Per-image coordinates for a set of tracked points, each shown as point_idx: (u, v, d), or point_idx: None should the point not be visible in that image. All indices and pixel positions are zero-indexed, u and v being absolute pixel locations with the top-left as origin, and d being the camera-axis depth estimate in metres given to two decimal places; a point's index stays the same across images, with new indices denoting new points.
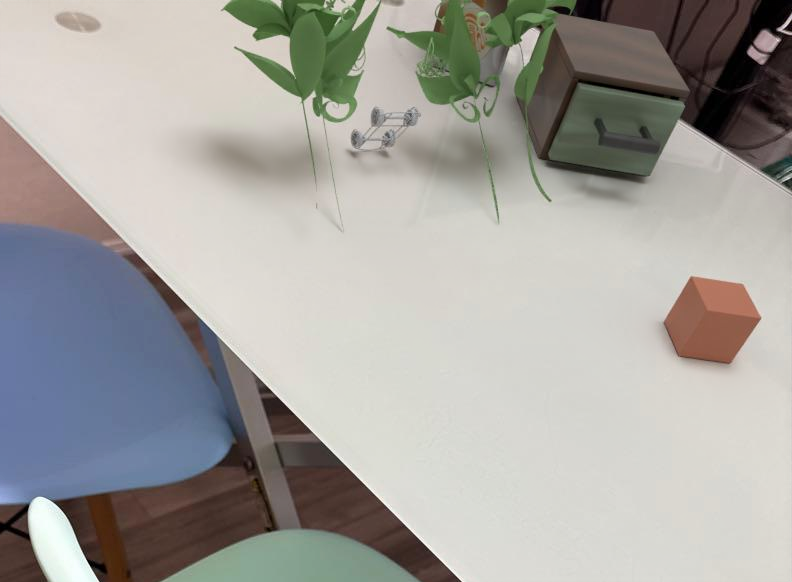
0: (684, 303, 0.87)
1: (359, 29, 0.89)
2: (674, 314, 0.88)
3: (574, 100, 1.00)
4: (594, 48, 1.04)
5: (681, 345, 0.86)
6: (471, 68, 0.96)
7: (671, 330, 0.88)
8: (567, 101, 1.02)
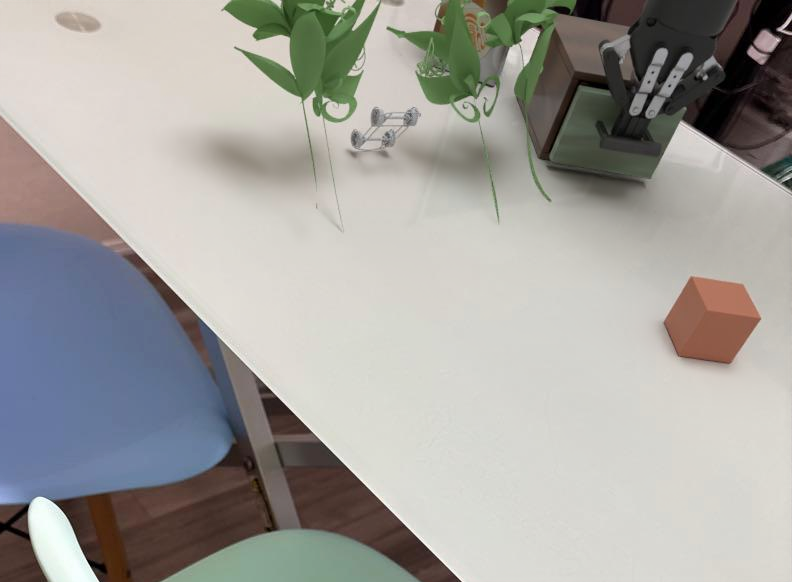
0: (684, 303, 0.87)
1: (359, 29, 0.89)
2: (674, 314, 0.88)
3: (575, 103, 1.00)
4: (594, 48, 1.04)
5: (681, 345, 0.86)
6: (471, 68, 0.96)
7: (671, 330, 0.88)
8: (567, 101, 1.02)
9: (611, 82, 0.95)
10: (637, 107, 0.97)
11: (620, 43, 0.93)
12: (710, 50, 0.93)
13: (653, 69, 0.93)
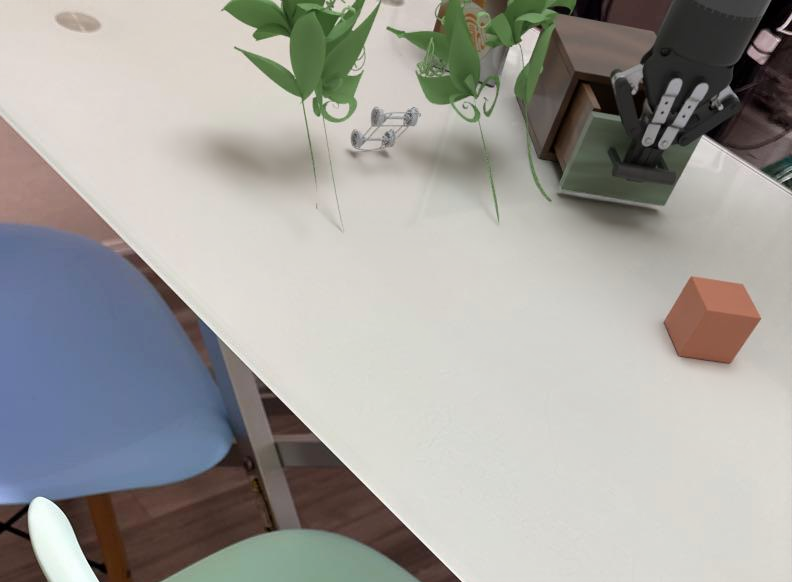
0: (684, 303, 0.87)
1: (359, 29, 0.89)
2: (674, 314, 0.88)
3: (586, 129, 0.96)
4: (594, 48, 1.04)
5: (681, 345, 0.86)
6: (471, 68, 0.96)
7: (671, 330, 0.88)
8: (567, 101, 1.02)
9: (623, 113, 0.92)
10: (650, 138, 0.93)
11: (633, 73, 0.90)
12: (726, 80, 0.89)
13: (667, 99, 0.90)
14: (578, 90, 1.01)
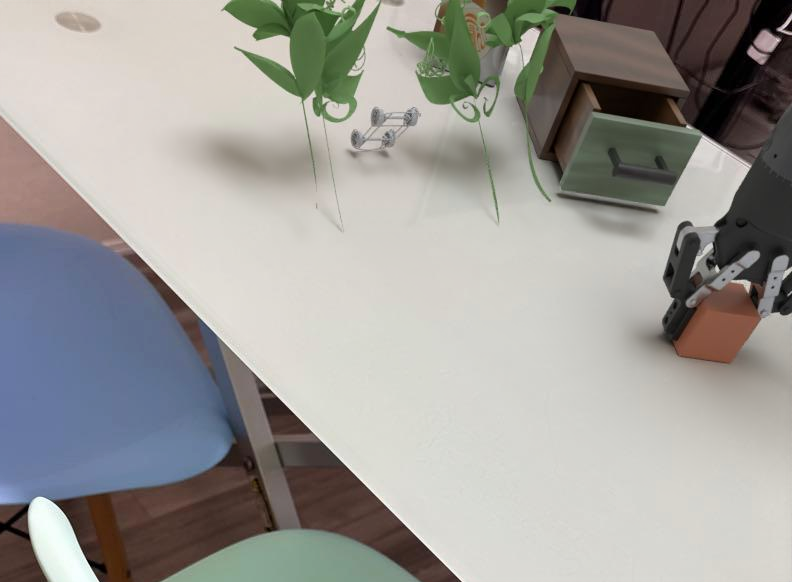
0: None
1: (359, 29, 0.89)
2: None
3: (586, 130, 0.96)
4: (594, 48, 1.04)
5: (681, 345, 0.86)
6: (471, 68, 0.96)
7: None
8: (567, 101, 1.02)
9: (678, 270, 0.81)
10: (696, 300, 0.84)
11: (707, 233, 0.80)
12: None
13: (735, 268, 0.81)
14: (578, 90, 1.01)
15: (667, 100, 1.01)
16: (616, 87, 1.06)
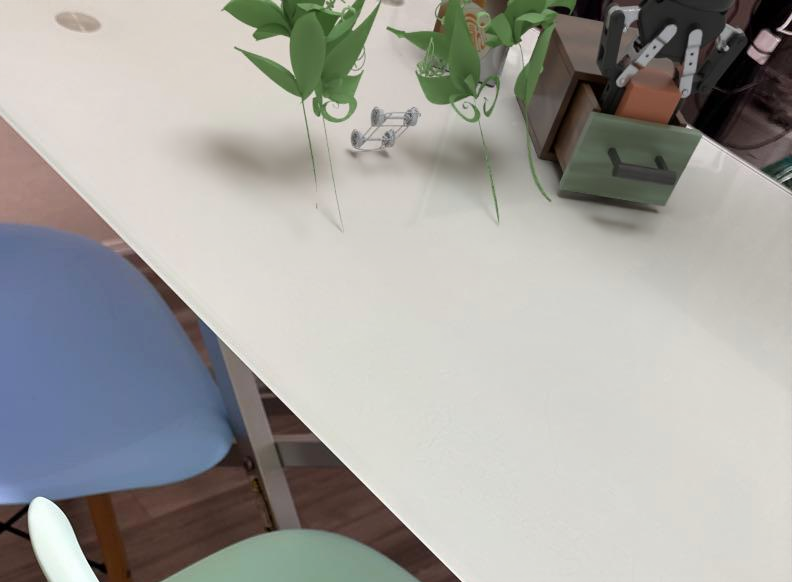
0: None
1: (359, 29, 0.89)
2: None
3: (586, 130, 0.96)
4: (594, 48, 1.04)
5: None
6: (471, 68, 0.96)
7: None
8: (567, 101, 1.02)
9: (607, 47, 0.93)
10: (625, 79, 0.95)
11: (631, 11, 0.91)
12: (719, 24, 0.91)
13: (656, 44, 0.92)
14: (578, 90, 1.01)
15: None
16: None
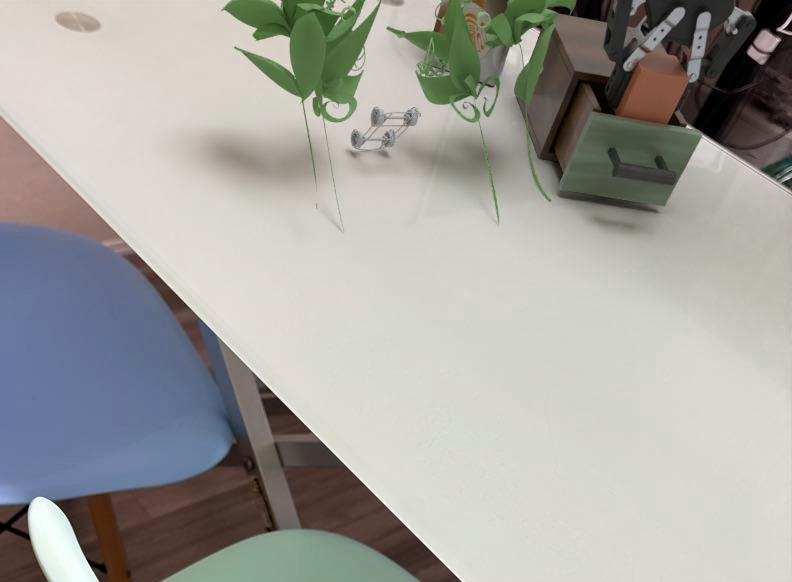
0: None
1: (359, 29, 0.89)
2: None
3: (586, 130, 0.96)
4: (594, 48, 1.04)
5: (620, 110, 0.97)
6: (471, 68, 0.96)
7: None
8: (567, 101, 1.02)
9: (615, 31, 0.92)
10: (632, 63, 0.94)
11: None
12: (728, 7, 0.90)
13: (664, 27, 0.91)
14: (578, 90, 1.01)
15: None
16: None
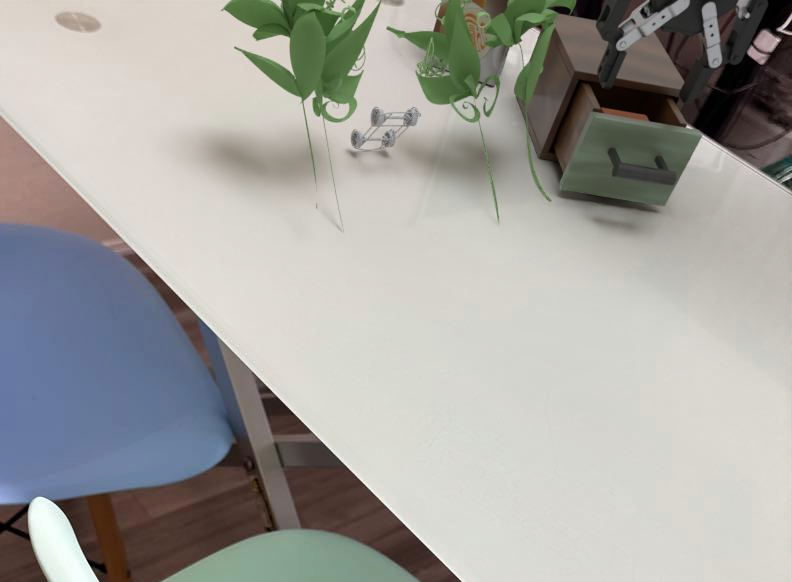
0: None
1: (359, 29, 0.89)
2: None
3: (586, 130, 0.96)
4: (594, 48, 1.04)
5: None
6: (471, 68, 0.96)
7: None
8: (567, 101, 1.02)
9: (615, 8, 0.90)
10: (625, 43, 0.93)
11: None
12: None
13: (666, 14, 0.90)
14: (578, 90, 1.01)
15: (667, 100, 1.01)
16: (616, 87, 1.06)
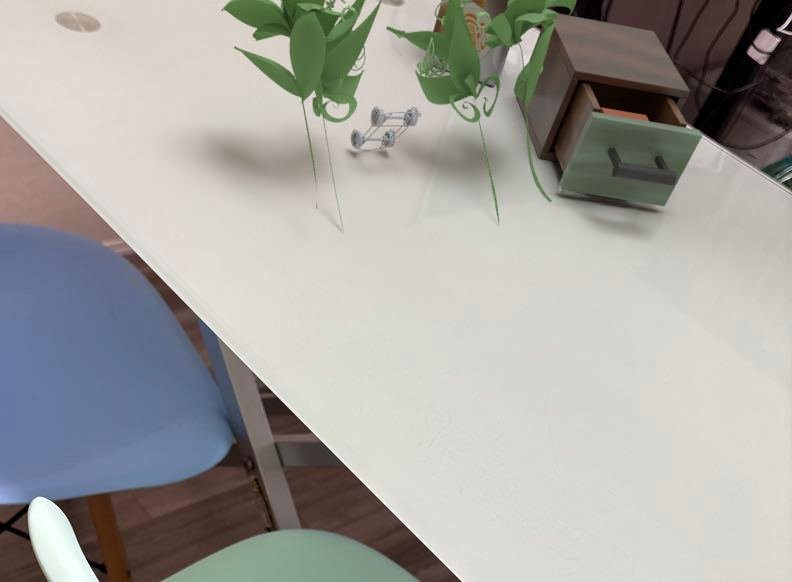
0: None
1: (359, 29, 0.89)
2: None
3: (586, 130, 0.96)
4: (594, 48, 1.04)
5: None
6: (471, 68, 0.96)
7: None
8: (567, 101, 1.02)
9: None
10: None
11: None
12: None
13: None
14: (578, 90, 1.01)
15: (667, 100, 1.01)
16: (616, 87, 1.06)
